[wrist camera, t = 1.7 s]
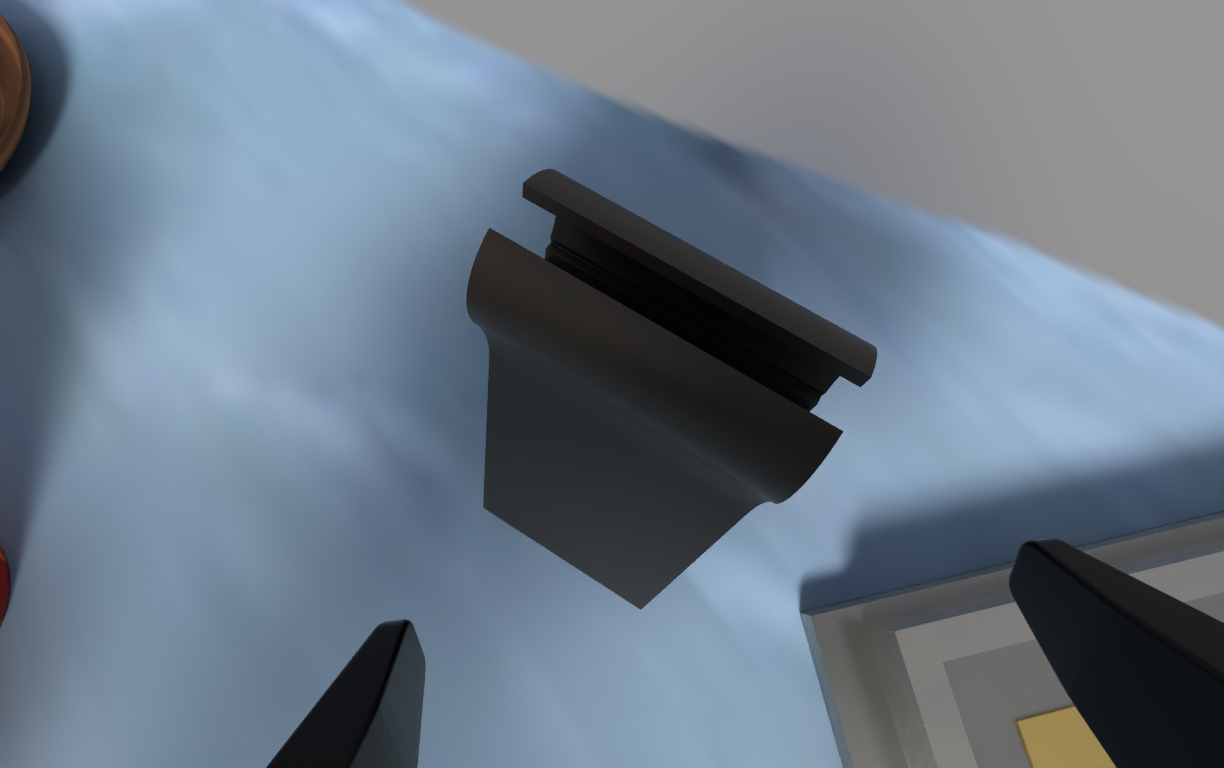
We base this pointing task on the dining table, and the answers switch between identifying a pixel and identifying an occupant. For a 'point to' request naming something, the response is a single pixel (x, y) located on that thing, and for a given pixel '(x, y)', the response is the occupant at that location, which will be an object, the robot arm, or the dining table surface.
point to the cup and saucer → (12, 91)
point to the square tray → (981, 661)
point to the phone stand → (642, 390)
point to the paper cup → (4, 585)
